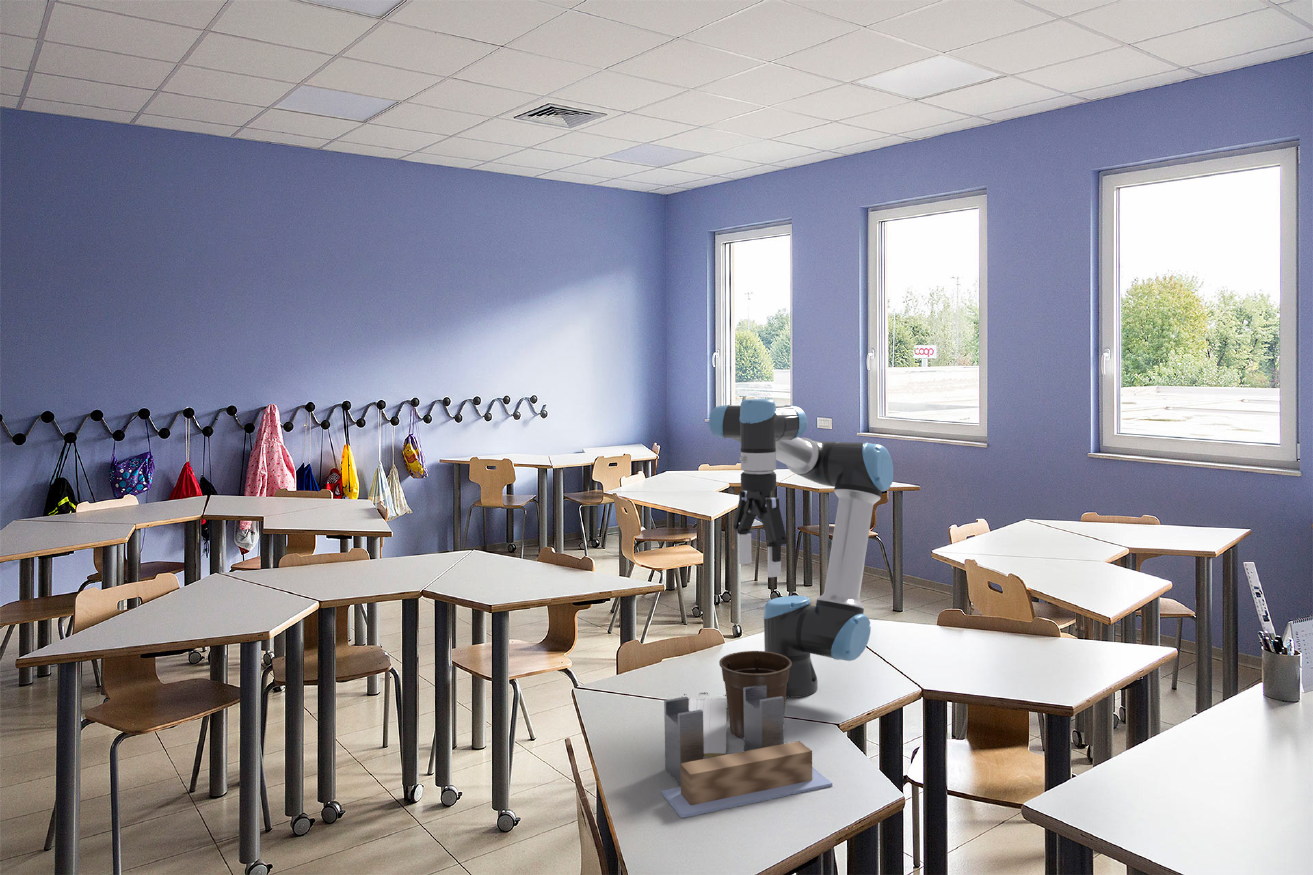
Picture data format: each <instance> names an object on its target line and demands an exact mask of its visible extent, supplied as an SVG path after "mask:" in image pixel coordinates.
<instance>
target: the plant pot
mask: <svg viewBox="0 0 1313 875" xmlns="http://www.w3.org/2000/svg"><path fill="white" fill-rule="evenodd" d="M718 662H719V667H720V668H721V675H722V681H723V682H724V688H725V694H726V696H725V698H726V707H727V712H728V713H727V714H728V715H727V716H728V723H729V732H730V733H731V734H732V735H733V736H734V737H736V738H743V739H744V698H743V687H750V686H756V685H762V684H765V685H766V686H767V698H773V697H779V696H782V697H783V698H784V716H785V712H786V700H787V697H786V688H787V682H788V679H789V669H790V667H791V665H792V662H791V660H790V659H789V658H787V657H786V656H783V655H781V654H777V653H773V652H766V651H765V650H764V651H763V650H745V651H738V652H737V651H736V652H733V653H728V654H726V655H724V656H723V657H722V658H720V659H719V661H718Z"/></svg>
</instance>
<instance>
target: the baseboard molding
mask: <svg viewBox="0 0 1313 875" xmlns="http://www.w3.org/2000/svg"><path fill="white" fill-rule="evenodd" d="M705 694H706V695H709V692H699V695H705ZM683 696H686V694H685V693H683ZM688 698H689V711H695V710H702V711H703V737H704V758H712V757H717V756H722V755H727V697H726V693H724V698H723V697H704V698H703V697H688Z"/></svg>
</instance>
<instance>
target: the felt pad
mask: <svg viewBox="0 0 1313 875" xmlns="http://www.w3.org/2000/svg"><path fill="white" fill-rule="evenodd" d="M829 786H830V787H833V782H832V781H830V779H828V778H827V777H826V776H824V775H823V774H822V773H821V772H820V771H818V770H817V769H815V767H813V766H812V780H811V781H806V782H802V783H797V784H792V785H787V786H782V787H778V788H773V789H768V790H763V791H758V792H753V793H749V794H744V795H739V796H734V797H729V798H725V799H720V800H715V801H710V802H705V803H701V804H696V805H690V804H689V803H688V801H687V800H686V799H685V798H684V797H683V796H682V794H681V786H679V787H674V788H669V789H665V790H661V795H662V797H664V798H665V800H666V801H667V802H668V804H670V806H671V807H672V809H673V810H674V811H675V812H676V814H677V815H678V816H679V817H680V819H684V818H688V817H693V816H698V815H703V814H707V813H712V812H717V811H721V810H725V809H731V808H735V807H740V806H745V805H750V804H754V803H758V802H763V801H768V800H774V799H777V798H778V799H779V798H781V797H782V798H783V797H788V796H792V795H791V794H793V795H797V794H801V792H802V793H807V792H811V791H810V790H812V791H815V790H820V788H821V789H825V788H829ZM806 791H807V792H806Z"/></svg>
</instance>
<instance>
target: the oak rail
mask: <svg viewBox="0 0 1313 875" xmlns="http://www.w3.org/2000/svg"><path fill="white" fill-rule="evenodd" d="M812 767H813V750H812V749H810V748H809V747H808V746H806V745H805V744H804V743H803V742H802V741H801V740H799V741H798V740H797V741H793V742H792V741H791V742H788V743H784V744H781V745H775V746H770V747H765V748H760V749H754V750H749V751H744V750H743V751H739V752H733V753H728V754H726V755H722V756H717V757H706V758H704V759H701V760H696V761H691V762H685V763H680V772H681V786H680V787H681V794H682V796H683V797H684V798H685V799H686V800H687V801H688V803H689V804H690V805H696V804H701V803H705V802H710V801H715V800H720V799H725V798H729V797H734V796H739V795H744V794H749V793H753V792H758V791H763V790H768V789H773V788H778V787H782V786H787V785H792V784H797V783H802V782H806V781H811V780H812Z"/></svg>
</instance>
